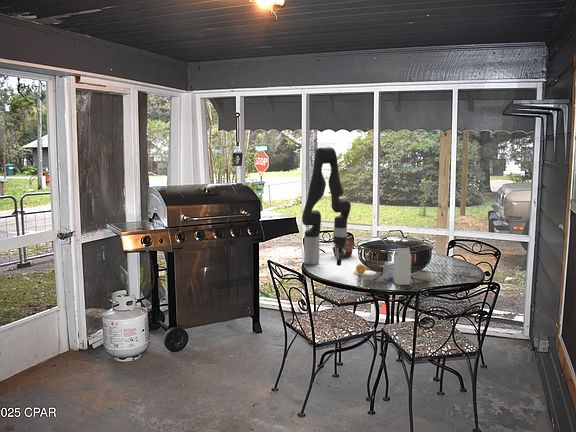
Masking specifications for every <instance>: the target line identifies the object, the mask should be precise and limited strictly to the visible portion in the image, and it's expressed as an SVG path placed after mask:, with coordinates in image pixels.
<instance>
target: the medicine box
mask: <svg viewBox="0 0 576 432" xmlns="http://www.w3.org/2000/svg"><path fill="white" fill-rule="evenodd" d="M382 267H383V269H382V279H383V280H386V281H393V274H394V262H385V263H383V266H382Z"/></svg>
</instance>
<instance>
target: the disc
mask: <svg viewBox="0 0 576 432" xmlns="http://www.w3.org/2000/svg"><path fill="white" fill-rule="evenodd" d="M353 274H354V275H358V276H362V277H365V276H366V277H371V276H376V275H377V272H376V271H374V270H367V269H366V271H365V272H364V273H363V274H359V273H358V272H357V271H356V270H354V271H353ZM375 274H376V275H375Z"/></svg>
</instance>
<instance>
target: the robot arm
mask: <svg viewBox="0 0 576 432" xmlns="http://www.w3.org/2000/svg"><path fill="white" fill-rule="evenodd" d="M337 157H338V156H337V152H336V150H335V148H334V147H332V146H331V147H328V146H327V147H317V149H316V150H315V152H314V160H313V170H312V175H311V180H310V183H309V189H308V194H307V199H306V202H305V206H304V209H303V212H302V217H301V222H302V224H303V225H304V226H311V228H309V229H307V230H305V232H304V244H303V245H304V247H303V248H304V249H303V250H304V251H303V264H304V265H309V266H315V265H319V263H320V236H321V235H320V233H321V224H322V214H321V212H320V210H318V209H316V210H315V209H314V207H315V205H316V204H317V203H318V202H319V201H320V200H321V199H322V198H323V196H324V195H325V191H326V186H327V182H326V179H325V177H324V175H323V170H322V169H323V165H325V164H329V167H330V174H329V176H328V177H329V178H328V188H329V191H330V195H331V196H330V197H331V198H330V199H331V209H332V211H333V212H334V213H339V215H337V216H335V217H334V222H333V223H334V224H333V234H332V235H333V236H332V237H333V239H332V243H333V244H334V246H332V251H333V254H334V257H335V258H336V266H342V260H344V259H345V258H346V257H345V255H346V253H347V251H345V250H344V249H345V247H344V245H345V244H346V243H347V235H348V229H347V228H348V227H347V226H348V218H349V216H350V213H351V209H352V204H351V202H350V200H348V199H340V197H342V196H343V195H344V194H345V193H344V188H343V185H342V182H341V178H340V173H339V171H340V170H339V164H338V158H337Z"/></svg>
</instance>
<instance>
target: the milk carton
mask: <svg viewBox="0 0 576 432" xmlns="http://www.w3.org/2000/svg"><path fill="white" fill-rule="evenodd" d="M393 263H394V274H393V280H392V281H393V283H395V284H396V285H399V286H400V285H401V286H403V285H404V286H405V285H406V286H407V285H411V272H412V271H411V269H412V254H411V251H410V248H409V247H407V248H405V247H404V248H402V247H398V248H396V251H395V252H394V254H393Z"/></svg>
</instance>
